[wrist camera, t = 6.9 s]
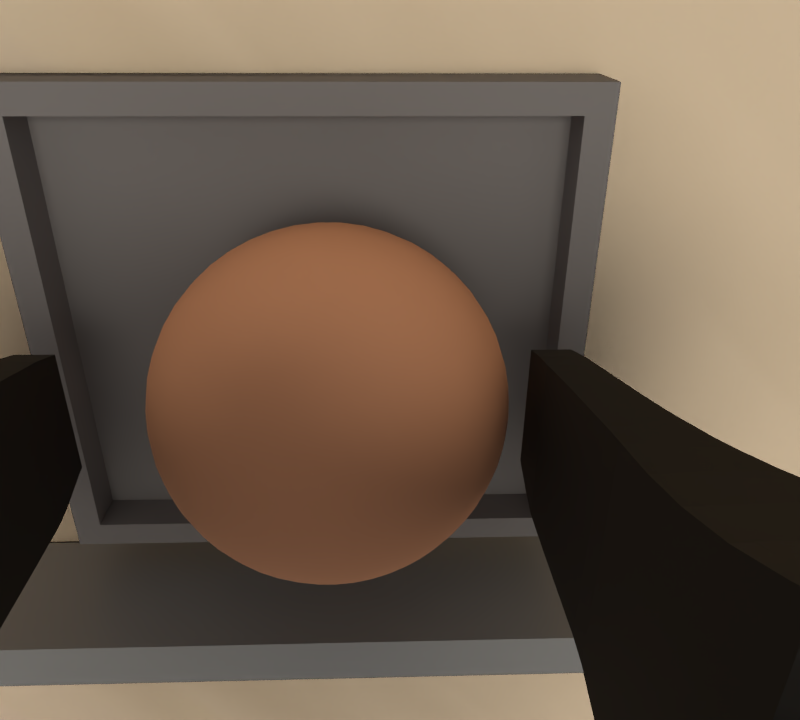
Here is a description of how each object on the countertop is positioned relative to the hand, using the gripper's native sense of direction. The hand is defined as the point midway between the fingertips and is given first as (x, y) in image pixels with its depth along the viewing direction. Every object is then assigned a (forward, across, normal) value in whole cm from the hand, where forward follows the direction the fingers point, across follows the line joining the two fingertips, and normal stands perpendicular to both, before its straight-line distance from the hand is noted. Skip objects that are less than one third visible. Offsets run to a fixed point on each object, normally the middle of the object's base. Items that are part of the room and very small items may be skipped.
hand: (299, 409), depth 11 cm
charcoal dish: (+3, 0, 0) cm, 3 cm away
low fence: (+3, 0, +6) cm, 7 cm away
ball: (0, 0, 0) cm, 1 cm away
